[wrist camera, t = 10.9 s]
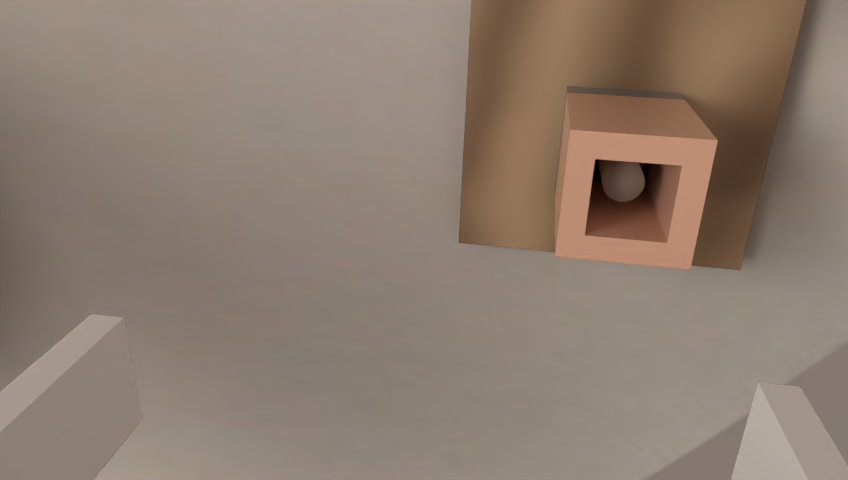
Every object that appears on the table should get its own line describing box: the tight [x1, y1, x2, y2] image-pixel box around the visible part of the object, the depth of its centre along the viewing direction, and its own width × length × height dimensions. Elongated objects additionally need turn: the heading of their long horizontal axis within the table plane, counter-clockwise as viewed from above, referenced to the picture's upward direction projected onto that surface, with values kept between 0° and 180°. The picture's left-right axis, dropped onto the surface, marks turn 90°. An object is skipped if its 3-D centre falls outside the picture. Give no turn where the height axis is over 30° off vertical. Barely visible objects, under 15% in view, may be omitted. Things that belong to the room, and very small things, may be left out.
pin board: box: [459, 0, 807, 270], centre depth 28 cm, size 14×22×8 cm, turn 179°
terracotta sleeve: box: [555, 86, 718, 270], centre depth 28 cm, size 5×5×8 cm
